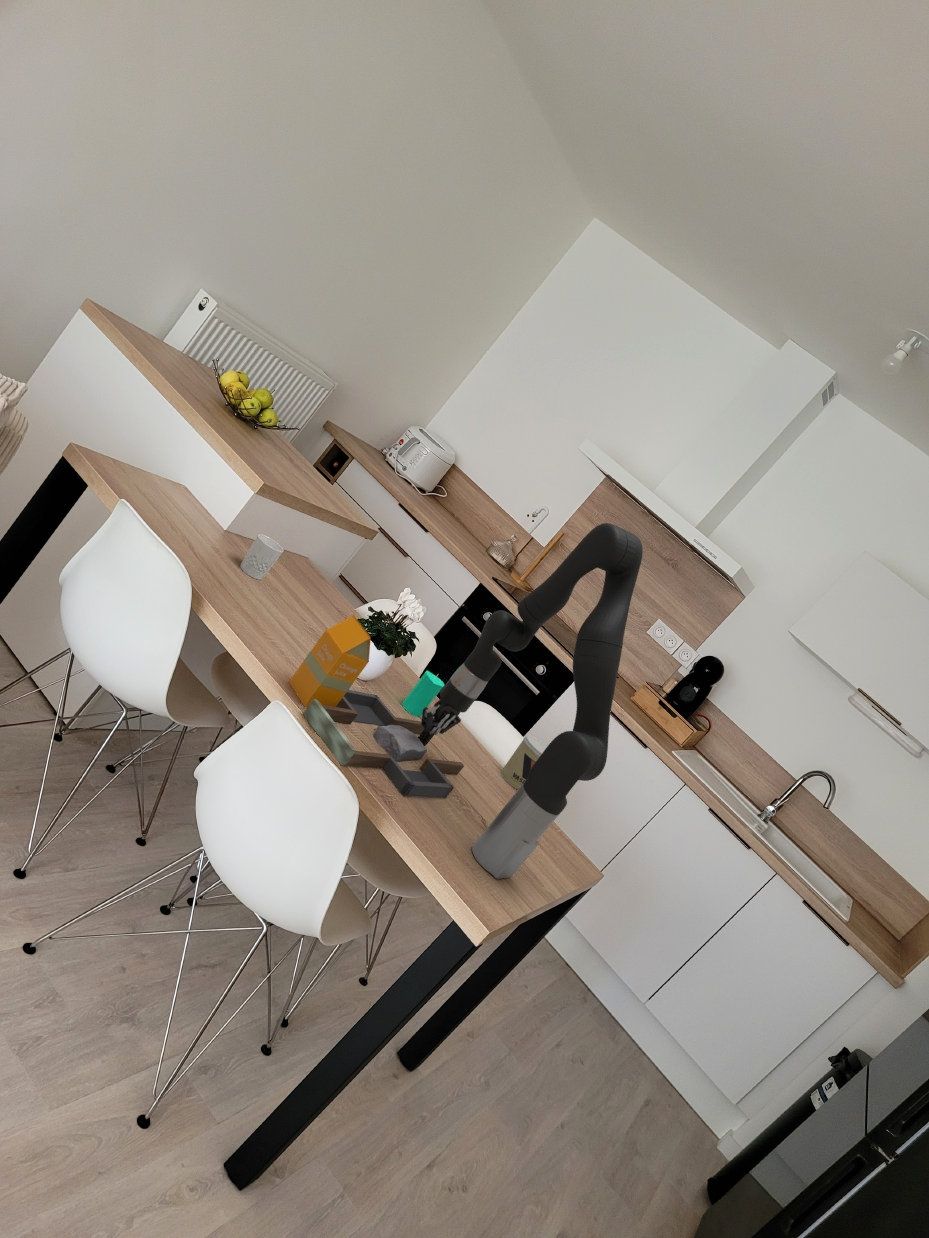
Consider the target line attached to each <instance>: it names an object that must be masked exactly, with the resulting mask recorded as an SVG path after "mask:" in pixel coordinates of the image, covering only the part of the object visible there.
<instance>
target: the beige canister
mask: <svg viewBox="0 0 929 1238" xmlns="http://www.w3.org/2000/svg"><path fill="white" fill-rule="evenodd" d="M547 746H548V745H546V744H545V743H544V742H543V741H541V740H540V739H539V738H537V737H535V736H533V735H530V734H528V735H526V736H524V737H523V739H522V741H521V742H520V744H518V746H517V748H516V749H515V751H514V752H513V753H512V755H511V756H510V758H509V760H508V761H507V762H506V764H505V765H504V766H503V768H502V769H501V772H500V773H501V776H502V778H503V779H504V780H505V781H506V782H507V784H508V785H510V786H512V788H514V789H516V790H517V791H518V790H519V788H520V787H521V786H522V785H523V784H524V782H525V781H526V780H527V778H528V775H529V772H530V770H531V768H532V766H533V765H534V764H535V762H536V761H537V760H538V758H539V757H540V756H541V754H542V753H543V752H544V750H545V749H546V748H547Z"/></svg>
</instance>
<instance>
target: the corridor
mask: <svg viewBox="0 0 929 1238" xmlns="http://www.w3.org/2000/svg"><path fill="white" fill-rule="evenodd" d="M302 715H303V717H304V718H305V719H306V721H307V722H308V723H309V725H310V726H311V727H312V729H313V730H314V731H315V733H316V734H317V736H318V738H320V740H321V741H322V743H323V744H324V745H325V746H326V748H327V749H328V750H329V751H330V753H331V754H332V755H333V757H334V758H335V760H336V761H337V762H338V764H339V765H340V766H343V767H344V766H347V767H357V768H368V769H379V770H380V769H381V770H382V768H383V767H384V766H385V764H386V763H387V762H388V760H389V759H390V758H393V757H392V756H391V755H390V754H388V753H379V752H370V751H369V752H368V751H362V750H361V751H360V750H357V749H356V748H355V747H354V745H353V744H352V743H351V742H350V740H349V739H348V737H347V736H346V734H345V733H344V732H343V731H342V730H341V728H339V726H338V724H337V723H340V724H344V725H345V724H346V725H351V724H352V723H353V720H354V719H355V718H356V716H357V715H358V713H357V712H356V711H355V710H350V709H344V708H338V707H332V706H326V705H321V704H320V703H319V701H318V700H316V699H313V700H312V702H311V703H310V704H309V706H308V707H306V709H305V710H304V712H303V713H302ZM421 721H422V720H421ZM421 721H420V720H414V719H408V718H401V717H398V716H397V717H396V716H395V717H391V719H390V720H389V721H388V723H387V724H386V725H385V726H388V725H395V726H398V725H399V726H402V727H404V728H406V729H407V730H408V731H411V732H412V733H414V734H415V735H418V736H419V735H420V734H421V733H422V731H423V730H424V727H423V726H422V725H421ZM430 762H433V763H434V764H435V765H436V767H437V768H438V769H439V770H440V771H441V773H442V774H443V775H451V776H458V774H459V773H460V772H461V771H462V770H463V768H464V767H465V764H464V763H463V762H461V761H454V760H446V759H445V760H444V759H435V758H426V759H425V760H424V761H423V763H422V764H421V766H420V767H419V771H422V772H423V770H424V769H425V768H426V767H427V765H428V764H429V763H430Z"/></svg>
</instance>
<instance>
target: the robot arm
mask: <svg viewBox="0 0 929 1238" xmlns="http://www.w3.org/2000/svg"><path fill="white" fill-rule="evenodd" d="M643 553H644V549H643V543H642V541H641V540H640V538H639V537H638V536H637V535H636V534H635V533H632V532H631V531H628V530H626V529H624V528H622V527H620V526H618V525H616V524H614V523H613V524H612V523H609V522H603V523H601V524H598V525H596V526H595V527H594V528H592V529H591V530H590V531H589V532H588V533H587V534H586V535H585V536H584V538H582V540H581V541H580V542H579V543H578V544H577V545H576V546H575V547H574V549H572V550H571V552H570V553H569V554H568V555H567V557H566V558H565V559H564V560H563V561H562V563H561V564H560V565H559V566H558V567H557V568H556V570H554V571H553V572H552V573H551V574H550V575H549V576H548V578H546V579H545V580H544V581H543V582H541V584H540V585H538V586H537V587H536V588H534V589H533V590H532V591H531V592H529V593H528V594H527V595H525V597H523V598H522V599H521V600H520V601H519V602H518V604H517V613H518V616H519V617H520V619H521V620H520V619H518V618H517V617H515V616H514V615H513V614H510V613H509V612H507V611H506V610H499V609H498V610H496V611H494V612H493V613H491V614H490V615H489V616H488V618H487V619H486V621H485V623H484V625H483V629H482V630H481V634H480V635H479V638H478V640H477V643H476V645H475V646H474V648H473V650H472V652H470V654H469V655H468V656H467V658H466V660H465V661H464V662H463V663H462V664H461V665H460V666H458V668H457V669H455V670H456V671H455V672H454V673H453V674H452V676H451V677H450V678H449V679H448V681H447V682H446V684H444V686H443V688H442V689H441V690H440V692H439V695H440V698H439V699H438V701H436V702H435V703H434V705H433V706H432V707H430V708H429V707H425V708H424V709H423V713H422V715H421V725H422V726H423V727H424V730H423V731H422V733H421V734H420V735H419V734H418V736H417V737H418V738H419V739H420V741H421V742H422V744H423V745H424V747H426V746H427V745H428V743H429V742H430V741H431V740H432V739H433V737H434V736H437V735H438V734H439V735H443V734H444V733H446V732H447V731H449V730H450V729H452V728H453V727H456V726H457V725H458V724H460V723H461V722H462V719H461V718H460V716H459V715H460V714H461V713H466V712H467V711H468V710H469V709H470V707H471V706H472V705H473V703H475V701H476V700H477V698H478V697H479V696H480V694H482V692H483V691H484V689H485V688H486V685H488V683H489V681H490V680H491V679H492V677H493V676H494V675H495V673H496V672H497V671H498V670H499V668H500V667H501V666H502V658H501V657H500V656H499V654H498V653H497V652H496V651H494V650H493V649H494V646H495V644H498V645H500V646H501V647H503V648H505V649H506V650H508V651H510V652H519V651H523V650H524V649H526V648H527V646H528V645H529V643H530V642H532V640H533V638H534V636H535V635H536V634H537V633H538V631H540V630H539V629H540V628H541V627H542V626H543V625H544V624H545V623H546V622H548V621H549V620H550V619H551V618H553V617H554V616H555V615H557V614H558V613H559V612H561V610H562V609H563V608H565V606H566V605H567V603H568V602H569V600H570V598H571V596H572V594H573V591H574V588H575V587H576V585H577V584H578V582H579V581H580V580H581V579H582V578H584V576H586V575H587V574H589V573H590V572H592V571H594V570H595V569H599V570H602V571H604V572H605V574H604V581H603V587H602V591H601V595H600V598H599V599H598V602H597V603H596V605H595V606H594V608H593V609H592V611H591V612H590V613H589V615H588V616H587V617H586V618H585V620H584V621H583V623H582V624H581V625H580V627H579V630H578V632H577V636H576V640H575V646H574V652H573V657H572V658H573V659H572V675H573V684H574V690H575V697H576V711H575V718H574V724H573V729H572V730H568V731H567V730H566V731H563V732H561V733H559V734H558V735H557V736H555V737H554V738H553V739H552V741H551V742H549V744H548V745H546V746H547V748H546V749H545V750H544V752H543V753H542V754H541V756H540V757H539V758H538V760H537V761H536V762H535V764H534V765H533V766H532V768H531V770H530V772H529V775H528V778H527V780H526V781H525V782H524V784H523V785H522V786H521V787H520V788H519V790H518V789H517V790H516V793H514V795H513V796H512V797H511V798H510V799H509V800H508V802H507V803H506V804H505V805H504V806H503V808H502V809H501V810H500V811H499V812H498V814H497V815H496V816H495V818H494V819H493V820H492V822H490V823H489V825H488V826H487V827H486V829H485V830H484V831H483V833H482V834H481V835H480V836H479V837H478V838H477V840H476V841H475V842H474V844H472V846H471V852H472V854H473V856H474V858H475V860H476V861H477V862H478V863H479V865H480V866H481V867H482V868H484V869H485V871H487V872H488V873H490V874H491V875H492V876H493V877H494V878H495V879H497V880H499V879H500V880H501V879H507V878H509V879H510V878H512V877H513V876H514V875H515V874H516V873H517V871H518V870H519V869H520V868H521V866H522V865H523V864H524V863H525V862H526V860H527V859H528V858H529V857H530V855H531V854H532V853H533V852H534V850H535V849H537V847H538V846H539V844H540V842H539V841H538V840H539V839H540V838H541V837H542V835H544V833H546V831H547V830H548V828H549V827H550V826H551V825H552V824H553V823H554V821H555V820H556V819H557V818H558V816H560V815H561V813H562V812H563V811H564V809H565V808H566V807H567V805H568V800H567V795H568V794H569V793H570V791H571V790H572V789H573V787H574V786H575V785H576V783H578V781H585V782H586V781H587V782H589V781H593V780H594V779H597V777H599V775H600V774H602V772H603V770H604V769H605V767H606V763H607V758H608V752H609V751H608V749H609V736H610V735H609V732H610V731H609V730H610V721H611V720H610V718H611V713H612V712H611V711H612V706H613V701H614V695H615V690H616V684H617V683H616V682H617V677H618V673H619V669H620V663H621V658H622V652H623V645H624V637H625V630H626V625H627V621H628V617H629V611H630V607H631V606H630V605H631V600H632V597H633V593H634V590H635V586H636V583H637V579H638V575H639V572H640V569H641V564H642V560H643V555H644V554H643Z"/></svg>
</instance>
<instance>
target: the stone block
mask: <svg viewBox="0 0 929 1238" xmlns="http://www.w3.org/2000/svg"><path fill="white" fill-rule="evenodd" d="M418 737H419V736H418V735H417V734H414V733H412V732H411V731H408V730H407V729H406V728H404V727H402V726H399V725H398V726H395V725H388V726H379V725H378V726H377V727H376V728H375V730H374V733H373V738H374V740H375V742H376V743H377V744H378V745H379V746H380V747H381V748H382V749H383V750H384V751H385V752H386V754H390V755H391V756H392V757H393V758H394V759H395V761H396V762H404V761H405V762H406V761H418V760H421V759H423V758H424V757H425V755H426V753H427V752H428V748H426V746H424V745H423V744H422V742H421V741H420V739H419V738H418Z"/></svg>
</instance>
